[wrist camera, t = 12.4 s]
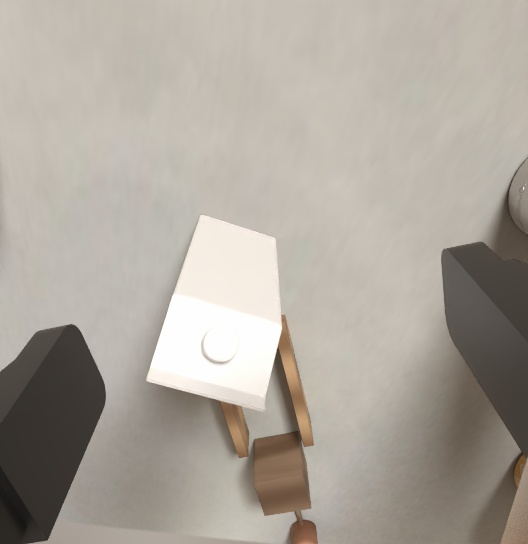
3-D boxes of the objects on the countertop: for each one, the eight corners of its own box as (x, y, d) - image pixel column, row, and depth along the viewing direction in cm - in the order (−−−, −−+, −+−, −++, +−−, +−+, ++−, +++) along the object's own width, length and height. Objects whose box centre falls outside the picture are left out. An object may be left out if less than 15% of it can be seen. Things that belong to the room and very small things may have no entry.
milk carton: (251, 301, 47) (245, 453, 30) (180, 280, 46) (132, 424, 29) (276, 237, 44) (285, 364, 27) (200, 213, 43) (161, 329, 26)
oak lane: (206, 330, 49) (202, 350, 45) (284, 314, 48) (286, 334, 45) (240, 433, 55) (238, 458, 51) (310, 421, 54) (313, 445, 51)
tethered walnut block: (254, 439, 55) (253, 483, 50) (298, 431, 54) (302, 475, 49) (286, 539, 62) (288, 587, 57) (325, 533, 62) (331, 581, 57)
